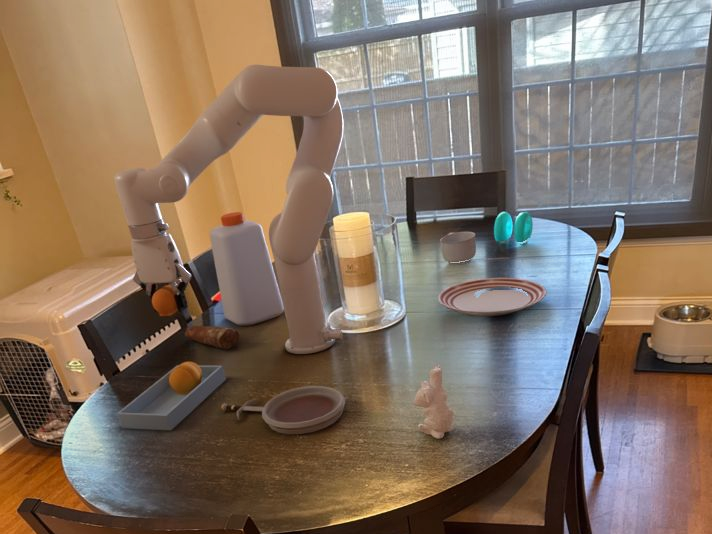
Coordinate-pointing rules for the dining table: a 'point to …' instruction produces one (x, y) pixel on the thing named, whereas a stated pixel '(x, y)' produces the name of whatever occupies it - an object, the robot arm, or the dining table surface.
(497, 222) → the teal twin oval discs
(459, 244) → the teacup
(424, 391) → the pink rabbit figurine
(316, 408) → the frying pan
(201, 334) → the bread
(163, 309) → the mango
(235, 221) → the plastic bottle
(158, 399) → the baking pan
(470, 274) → the dining table surface
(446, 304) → the dinner plate
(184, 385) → the mango
